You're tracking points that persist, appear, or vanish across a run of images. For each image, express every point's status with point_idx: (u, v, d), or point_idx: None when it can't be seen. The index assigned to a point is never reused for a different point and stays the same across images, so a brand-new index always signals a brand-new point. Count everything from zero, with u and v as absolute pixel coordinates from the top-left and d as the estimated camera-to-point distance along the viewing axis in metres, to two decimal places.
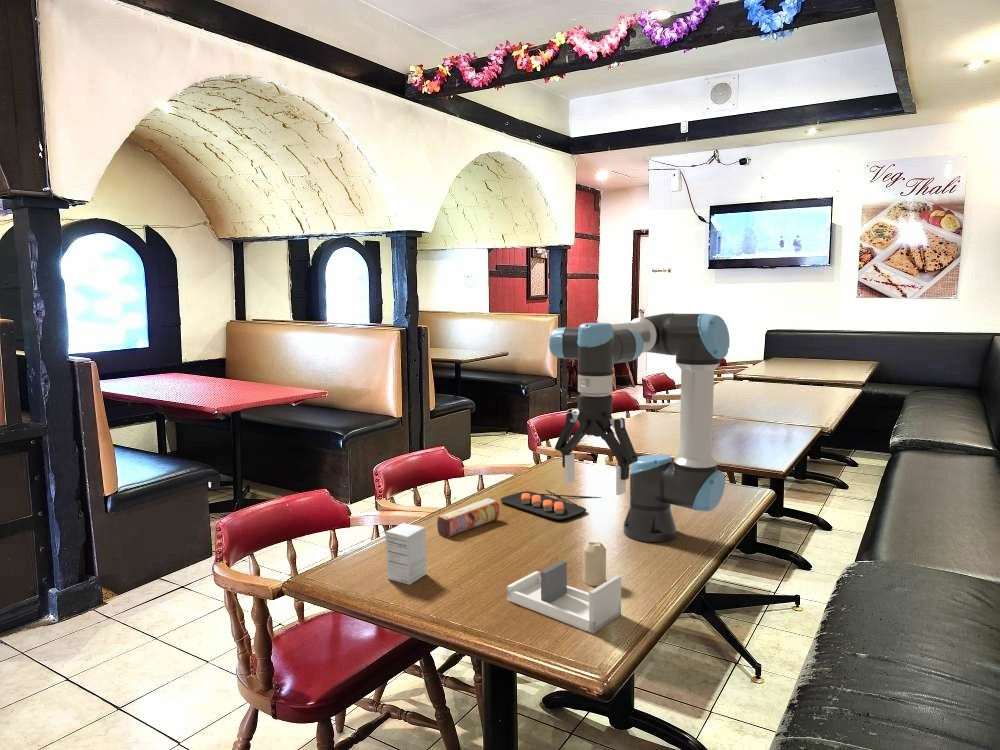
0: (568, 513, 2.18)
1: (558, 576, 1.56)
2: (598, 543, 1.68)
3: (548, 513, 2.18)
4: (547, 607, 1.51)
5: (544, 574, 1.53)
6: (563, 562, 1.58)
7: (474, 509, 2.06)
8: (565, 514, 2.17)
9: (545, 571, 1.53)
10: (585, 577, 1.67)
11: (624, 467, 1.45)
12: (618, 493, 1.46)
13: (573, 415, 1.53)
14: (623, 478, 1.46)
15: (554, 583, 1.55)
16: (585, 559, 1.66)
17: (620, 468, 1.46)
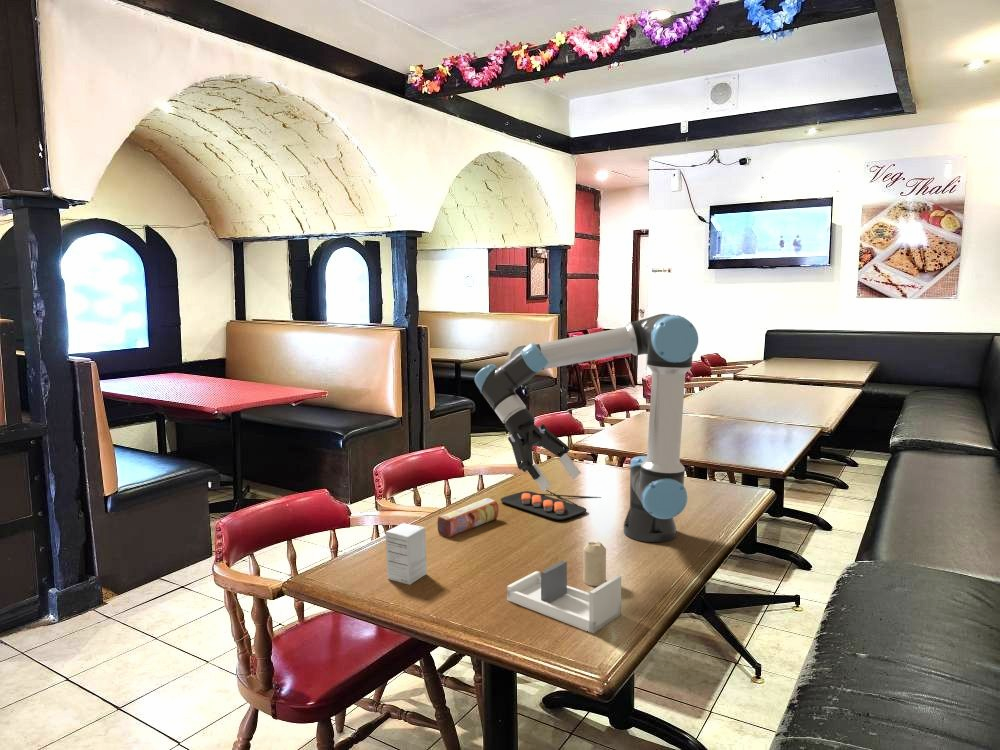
0: (568, 513, 2.18)
1: (558, 576, 1.56)
2: (598, 543, 1.68)
3: (548, 513, 2.18)
4: (547, 607, 1.51)
5: (544, 574, 1.53)
6: (563, 562, 1.58)
7: (474, 509, 2.06)
8: (565, 514, 2.17)
9: (545, 571, 1.53)
10: (585, 577, 1.67)
11: None
12: None
13: None
14: None
15: (554, 583, 1.55)
16: (585, 559, 1.66)
17: None
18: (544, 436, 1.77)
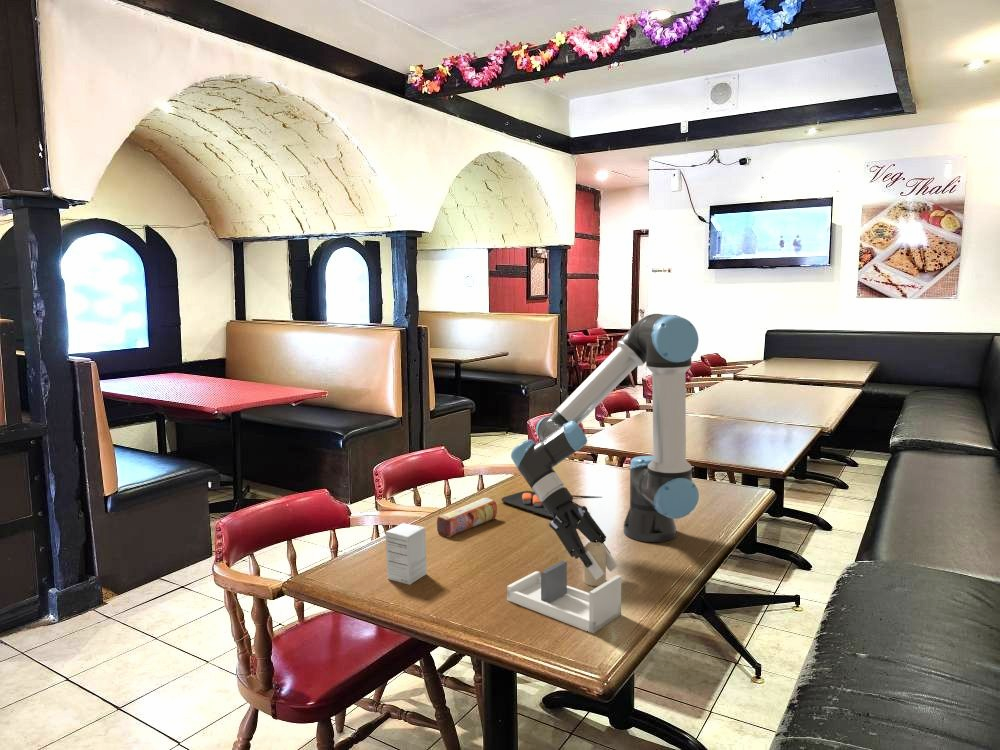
0: None
1: (558, 576, 1.56)
2: (598, 543, 1.68)
3: None
4: (547, 607, 1.51)
5: (544, 574, 1.53)
6: (563, 562, 1.58)
7: (473, 509, 2.07)
8: None
9: (545, 571, 1.53)
10: (585, 577, 1.67)
11: None
12: None
13: None
14: None
15: (554, 583, 1.55)
16: None
17: None
18: (582, 518, 1.71)
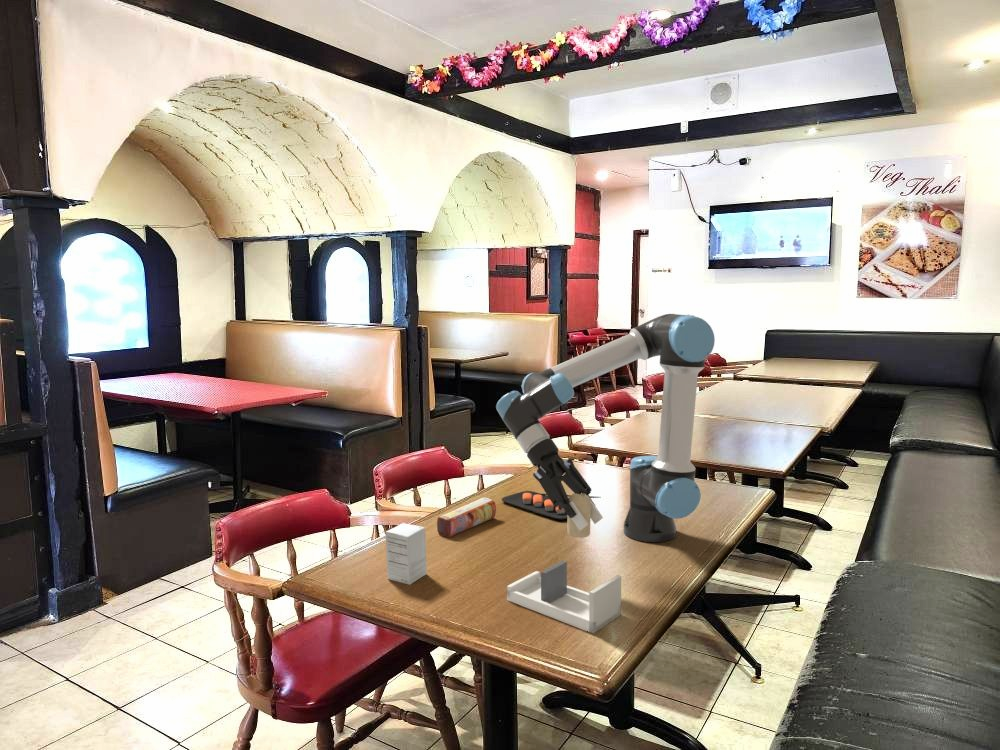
0: None
1: (558, 576, 1.56)
2: (583, 494, 1.64)
3: (549, 513, 2.18)
4: (547, 607, 1.51)
5: (544, 574, 1.53)
6: (563, 562, 1.58)
7: (472, 508, 2.07)
8: (566, 514, 2.17)
9: (545, 571, 1.53)
10: (569, 529, 1.64)
11: None
12: None
13: None
14: None
15: (554, 583, 1.55)
16: None
17: None
18: (567, 470, 1.68)
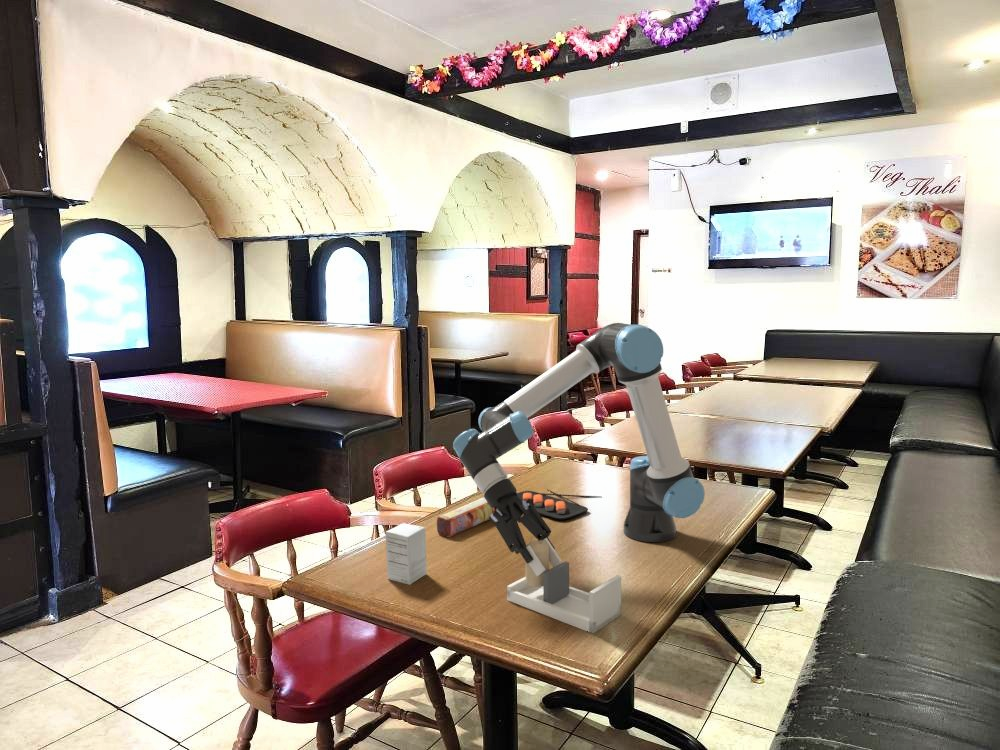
0: (570, 513, 2.18)
1: (560, 577, 1.56)
2: (541, 541, 1.59)
3: (550, 513, 2.18)
4: (547, 607, 1.51)
5: (546, 575, 1.52)
6: (565, 563, 1.58)
7: (472, 508, 2.07)
8: (567, 514, 2.17)
9: (547, 572, 1.53)
10: (527, 577, 1.58)
11: None
12: None
13: None
14: None
15: (557, 583, 1.55)
16: None
17: None
18: (525, 511, 1.62)
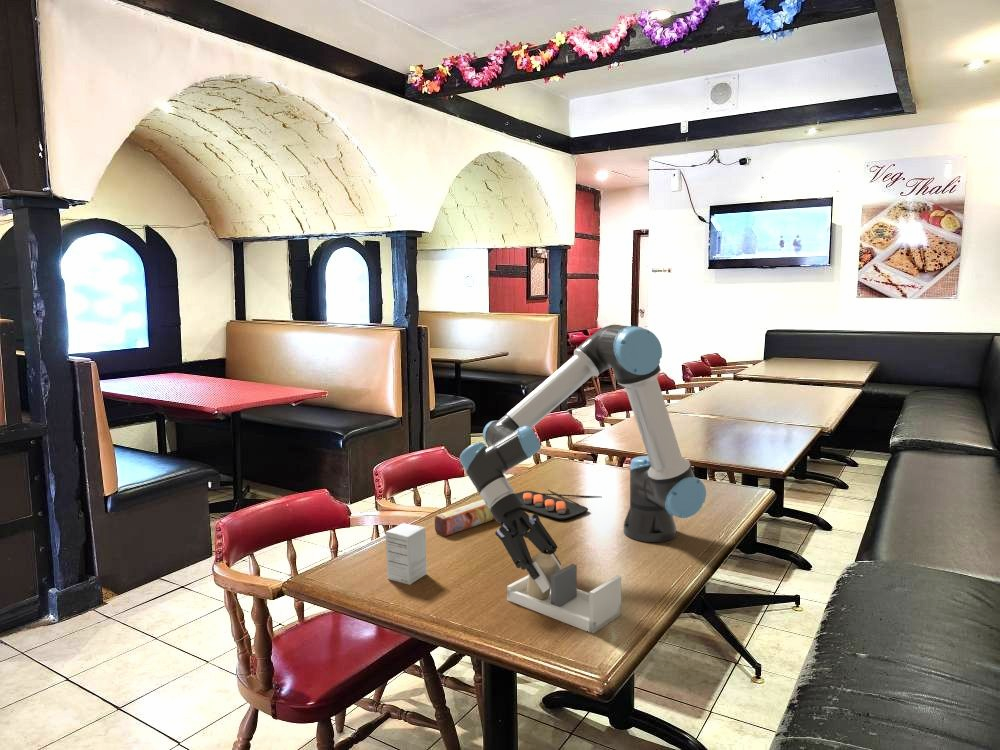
0: (570, 512, 2.18)
1: (568, 579, 1.54)
2: (548, 555, 1.57)
3: (550, 513, 2.19)
4: (547, 607, 1.51)
5: (554, 577, 1.51)
6: (573, 565, 1.56)
7: (472, 509, 2.07)
8: (567, 513, 2.17)
9: (555, 574, 1.51)
10: (528, 588, 1.57)
11: None
12: None
13: None
14: None
15: (564, 586, 1.54)
16: None
17: None
18: (531, 527, 1.61)
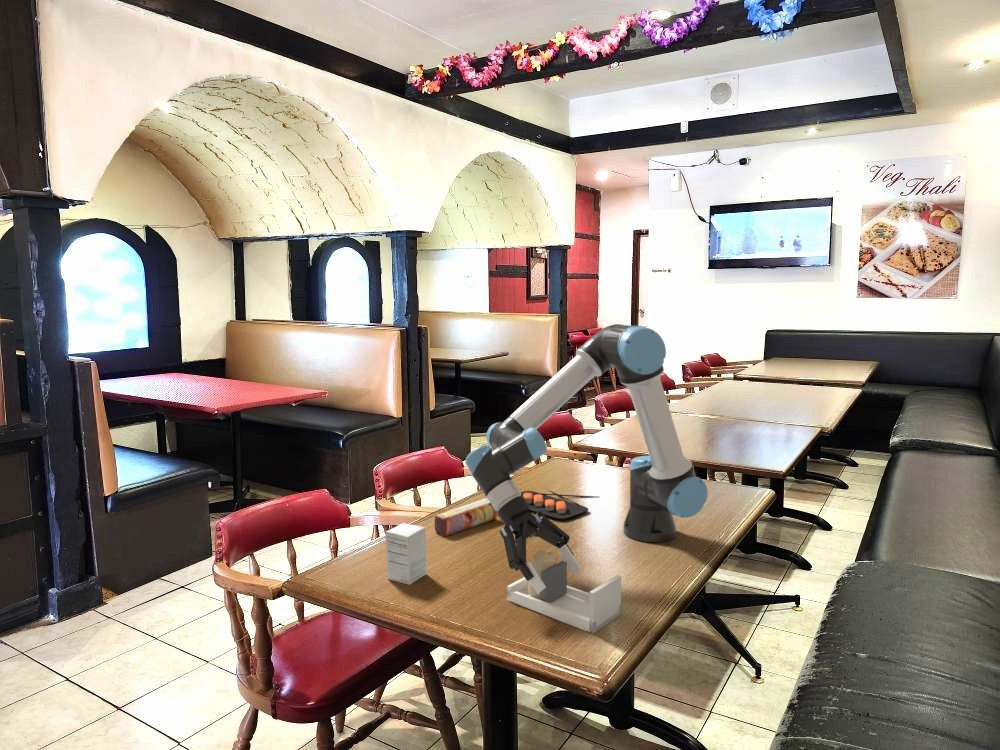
0: (570, 513, 2.18)
1: (558, 576, 1.56)
2: (549, 553, 1.59)
3: (550, 513, 2.19)
4: (547, 607, 1.51)
5: (544, 574, 1.53)
6: (563, 562, 1.58)
7: (471, 508, 2.07)
8: (567, 514, 2.17)
9: (545, 571, 1.53)
10: (530, 586, 1.58)
11: None
12: None
13: None
14: None
15: (554, 583, 1.55)
16: (533, 567, 1.58)
17: None
18: (541, 526, 1.61)
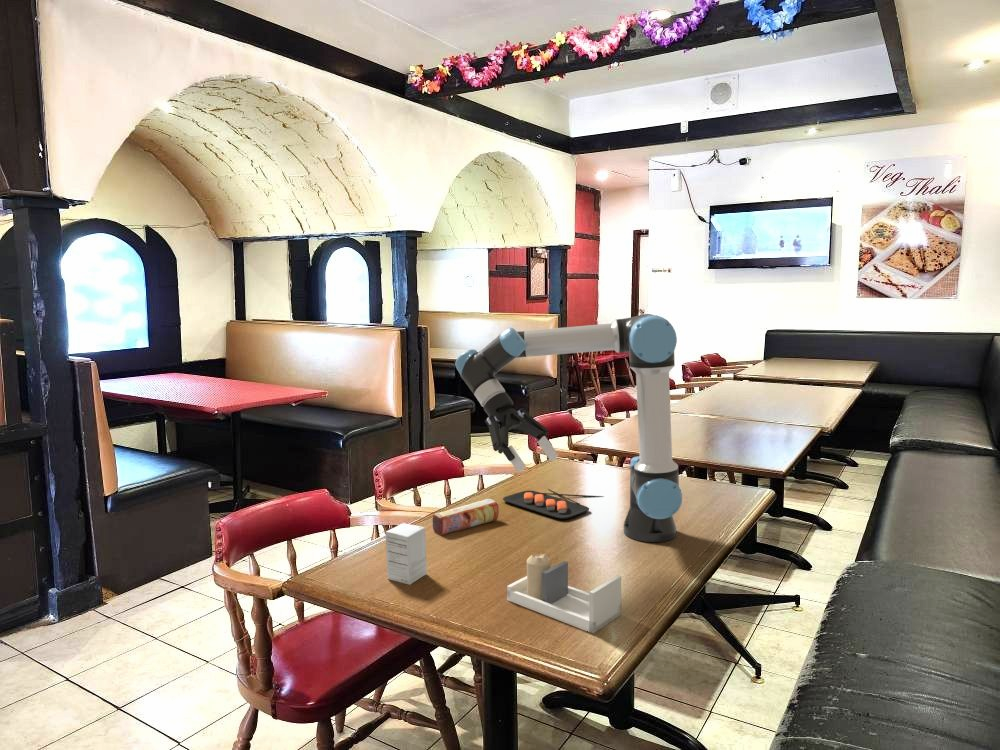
0: (571, 512, 2.19)
1: (559, 576, 1.56)
2: (542, 555, 1.58)
3: (551, 512, 2.19)
4: (547, 607, 1.51)
5: (545, 574, 1.52)
6: (564, 562, 1.58)
7: (470, 509, 2.07)
8: (568, 513, 2.18)
9: (546, 571, 1.53)
10: (528, 590, 1.58)
11: None
12: None
13: None
14: None
15: (555, 583, 1.55)
16: (527, 571, 1.57)
17: None
18: (522, 419, 1.80)
